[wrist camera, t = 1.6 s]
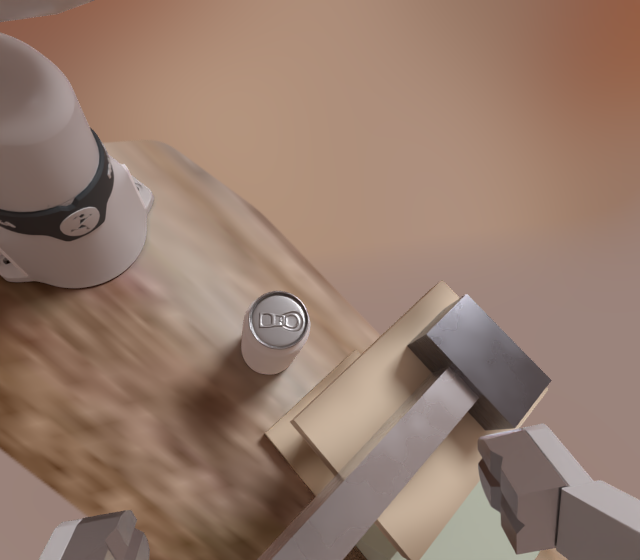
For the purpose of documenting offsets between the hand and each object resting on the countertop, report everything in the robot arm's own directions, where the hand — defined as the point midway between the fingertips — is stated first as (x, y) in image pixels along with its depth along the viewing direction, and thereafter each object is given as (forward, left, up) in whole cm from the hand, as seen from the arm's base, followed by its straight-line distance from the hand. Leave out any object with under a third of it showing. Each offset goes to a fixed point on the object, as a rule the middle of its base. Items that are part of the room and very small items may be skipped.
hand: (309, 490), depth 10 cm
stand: (+4, +10, -38) cm, 40 cm away
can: (-8, +9, -39) cm, 41 cm away
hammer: (+4, +3, -14) cm, 15 cm away
